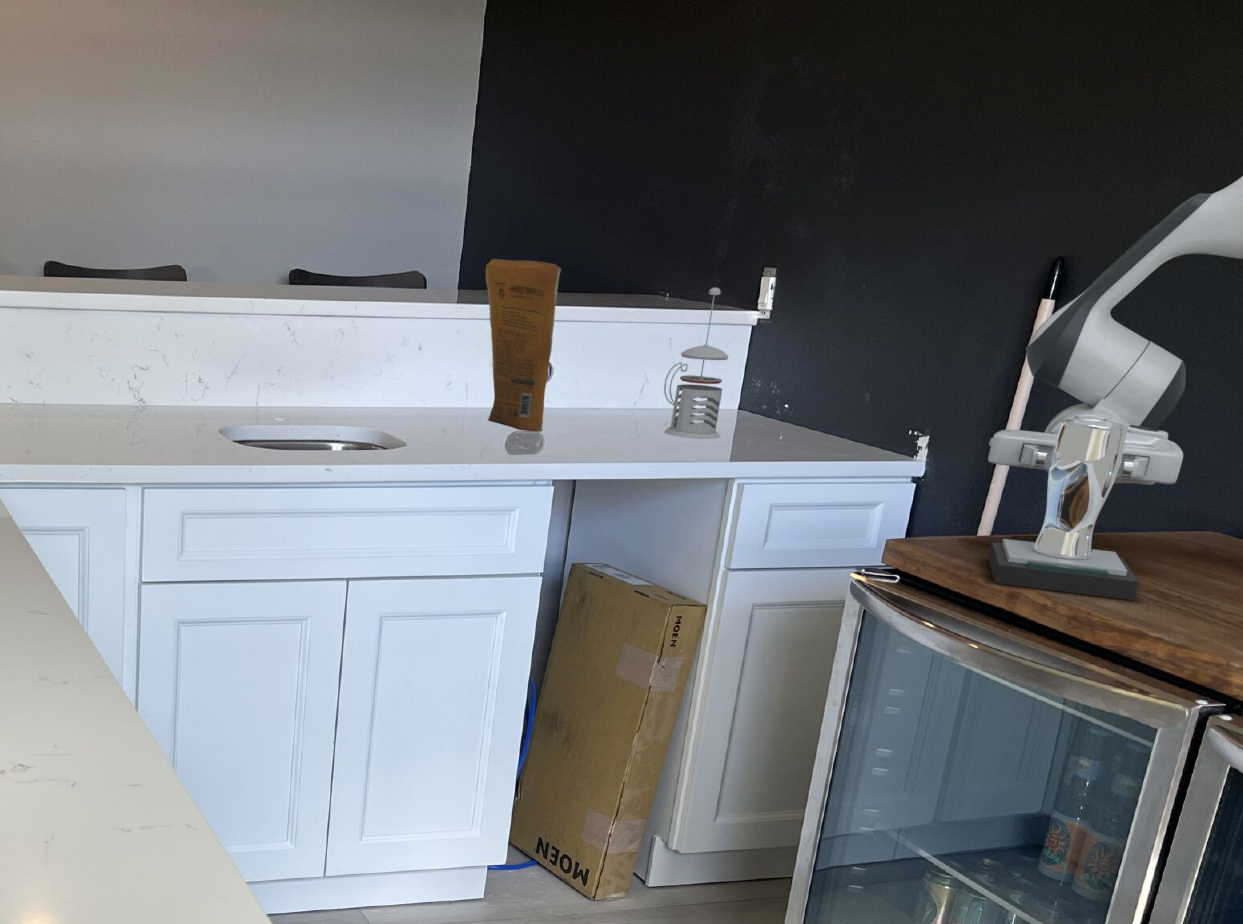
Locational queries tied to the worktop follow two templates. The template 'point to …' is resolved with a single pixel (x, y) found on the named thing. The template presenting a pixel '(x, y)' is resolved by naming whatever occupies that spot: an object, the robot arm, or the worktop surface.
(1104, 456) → the beer glass
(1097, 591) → the kitchen scale
